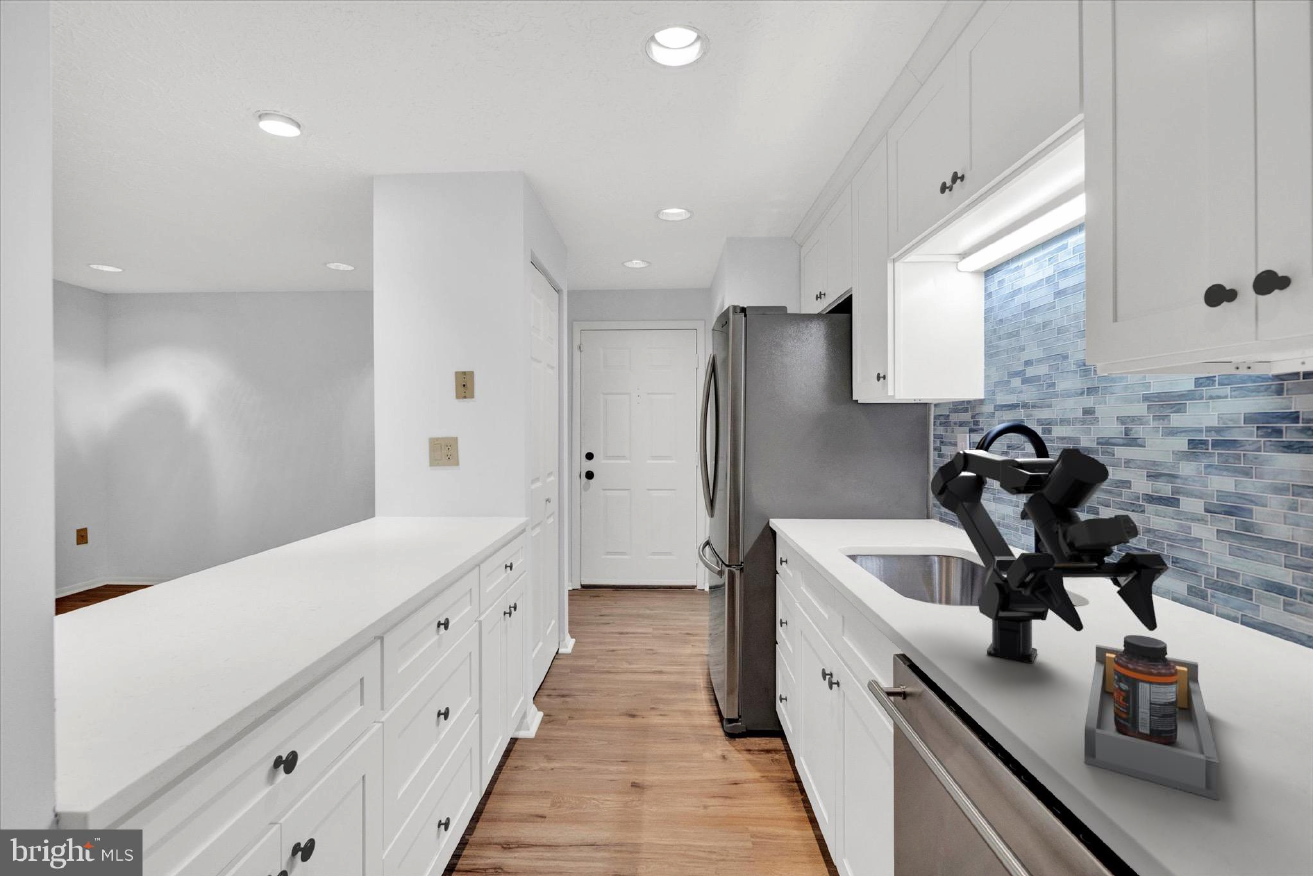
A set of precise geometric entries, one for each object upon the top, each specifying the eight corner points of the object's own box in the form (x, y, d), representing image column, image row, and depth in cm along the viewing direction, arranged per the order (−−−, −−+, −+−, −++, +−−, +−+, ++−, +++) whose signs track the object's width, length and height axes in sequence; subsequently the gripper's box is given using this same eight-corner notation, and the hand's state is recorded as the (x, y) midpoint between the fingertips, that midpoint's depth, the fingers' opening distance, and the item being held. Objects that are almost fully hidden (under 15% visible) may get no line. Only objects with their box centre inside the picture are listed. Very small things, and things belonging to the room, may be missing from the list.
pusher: (1106, 681, 85) (1106, 647, 85) (1185, 697, 80) (1185, 661, 80) (1105, 691, 82) (1105, 655, 82) (1187, 708, 77) (1187, 670, 77)
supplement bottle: (1103, 719, 75) (1103, 629, 75) (1159, 724, 74) (1159, 633, 74) (1129, 743, 69) (1129, 646, 69) (1189, 749, 68) (1189, 650, 68)
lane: (1095, 684, 87) (1096, 644, 87) (1197, 705, 80) (1197, 662, 80) (1084, 762, 67) (1084, 711, 67) (1218, 800, 60) (1219, 743, 60)
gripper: (1018, 494, 81) (1074, 598, 70) (1158, 492, 81) (1235, 598, 70) (987, 540, 89) (1032, 640, 78) (1113, 539, 89) (1176, 640, 78)
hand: (1117, 629), depth 76 cm, fingers open, 9 cm apart
